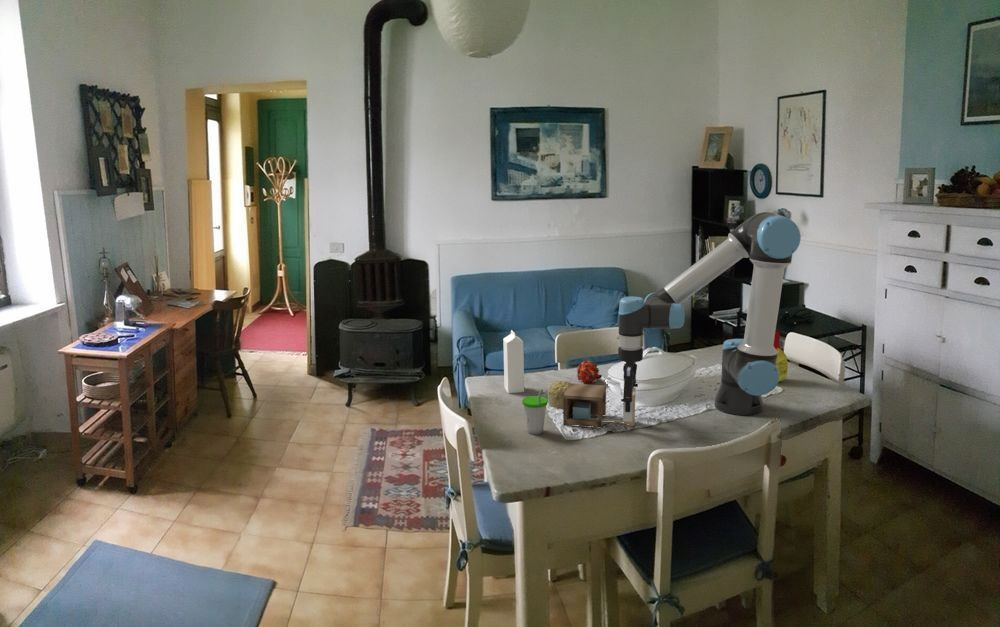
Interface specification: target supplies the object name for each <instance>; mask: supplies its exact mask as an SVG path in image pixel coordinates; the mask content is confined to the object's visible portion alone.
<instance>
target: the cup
mask: <svg viewBox="0 0 1000 627" xmlns="http://www.w3.org/2000/svg"><path fill="white" fill-rule="evenodd" d="M542 392H544V389H541V390H539V392H538V395H530V396H527V397H524V398H523V399H522V401H521V404H522V405H523V409H524V416H525V421H526V428H527V432H528V434H530V435H536V436H537V435H541V434H543V432H544V427H545V426H544V425H545V418H546V410H547V405H548V402H549V401H548V398H546V397H544V396H541V394H542Z"/></svg>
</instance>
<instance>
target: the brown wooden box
mask: <svg viewBox="0 0 1000 627" xmlns="http://www.w3.org/2000/svg"><path fill="white" fill-rule="evenodd" d="M575 402H587V403H591V416H597V419H598V420H587V419H573V417H572V416H573V414H572V413H573V406H574V404H575ZM606 409H607V385H600V384H589V385H588V384H584V383H583V384H582V383H571V382H570V383H569V385H568V387H567V389H566V391H565V393H564V395H563V408H562V410H563V413H562V414H563V415H562V416H563V418H562V420H563V422H562V423H563V424H562V425H563V426H568V425H579V426H578V427H581V426H593V427H602V428H603V422H602V419H603V416H602V415H607V410H606ZM571 415H572V416H571ZM570 417H571V418H570ZM593 427H592V428H593Z"/></svg>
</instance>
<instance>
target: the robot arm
mask: <svg viewBox="0 0 1000 627" xmlns="http://www.w3.org/2000/svg"><path fill="white" fill-rule="evenodd" d="M800 243H801V232H800V229H799V227H798V225H797V224H796V222H794V220H792V219H790V218H789V217H787V216H785V215H780V214H776V213H772V212H769V211H768V212H767V211H764V212H759V213H755V214H754V215H752V216H750V217H749V218H747V219H746V220H744V221H742V223H741V224H739V225H738V226H737V227H736V228H734V229H733V230H732V231H730V232H729V233H728V236H727V238H726V240H724V241H722V242H721V243H719V245H717V246H716V247H714V249H712V250H711V251H709V252H708V253H707V254H705V255H704V256H703V257H702V258H700V259H699V260H698V261H697V262H695V263H694V264H693V265H691V266H690V267H689V268H687V269H685V271H683V272H682V273H680V274H679V275H678V276H677V277H675V278H674V279H673V280H671V281H670V282H669V283H667V284H666V285H665V286H664V287H661V289H659V290H658V291H657V292H651V293H649V294H647V296H645V298H643V297H640V296H631V295H630V296H624V297H621V299H620V300H619V305H618V335H617V336H616V339H617V340H618V345H617V346H618V350H617V352H618V353H617V357H618V360H619V361H620V362H625V363H624V364H623V368H622V369H623V370H622V371H623V395H622V396H623V398H621V399H620V401H621V402H622V404H623V406H622V411H623V412H622V414H623V415H622V418H623V419H622V421H629V422H632V409H633V401H632V393H633V392H635V395H636V394H637V393H636V391H637V390H636V388H638V386H639V383H637V369H638V364H637V363H639V362H642V361H643V359H644V348H643V347H644V331H645V330H644V329H646V330H647V329H649V330H650V329H659V330H660V329H663V330H664V329H670V330H673V329H681V328H682V327H683V326H684V324H685V318H686V317H685V316H686V314H685V308H684V307H685V306H684V305H683V304H682V303H684V302H685V301H687V299H690V297H692V296H693V295H695V294H696V293H697V292H699V291H700V290H701V289H702V288H704V287H706V286H707V285H708V284H710V283H711V282H712V281H713V280H715V279H716V278H717V277H719V276H720V275H722V274H723V273H724V272H726V271H727V270H729V268H731V267H733V265H735V264H736V263H737V262H739V261H740V260H742V259H743V258H745V259H746V258H747V259H748V258H749V261H750V262H751V263H752V264H753V270H752V277H751V286H750V292H749V298H748V307H747V314H746V320H745V328H744V335H743V338H732V339H731V338H730V339H726V340H725V341H723V345H722V349H721V351H722V356H721V357H722V358H721V378H720V379H721V380H720V384H719V388H718V390H717V392H716V394H715V397H714V407H715V408H716V409H717V410H718V411H721V412H723V413H727V414H731V415H737V416H752V415H757V414H760V413H761V412H763V406H764V402H763V399H762V396H764V395H767V394H769V393H770V392H771V391H773V390H774V389H775V388H777V386H778V383H779V382H780V381H779V371H778V369H777V367H776V361H777V353H778V352H777V350H776V349H775V348H774V346H773V344H774V337H775V330H776V329H777V322H778V318H779V316H778V315H779V310H780V303H781V296H782V295H781V294H782V288H783V283H784V276H785V269H786V268H787V267H788V266H789V265H791V264H792V259H793V254H795V252H797V250H798V248H799V247H800V245H801V244H800ZM626 397H629V398H626Z"/></svg>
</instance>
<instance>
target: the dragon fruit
mask: <svg viewBox="0 0 1000 627" xmlns="http://www.w3.org/2000/svg"><path fill="white" fill-rule="evenodd" d="M576 369H577V370H576V372H577V373H576V374H577V375H576V376H577V380H578V381H581V382H582V383H583V384H587V385H590V383H592V384H593V383H595V382H596V381H597V380H599V379H601V378H602V377H603V376H602V374H600V370H599V367H598V364H597V363H596V362H595V363H594V362H592V361H591V360H584V361H582V362H581V363H580V364H578V366H577V367H576Z"/></svg>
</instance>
